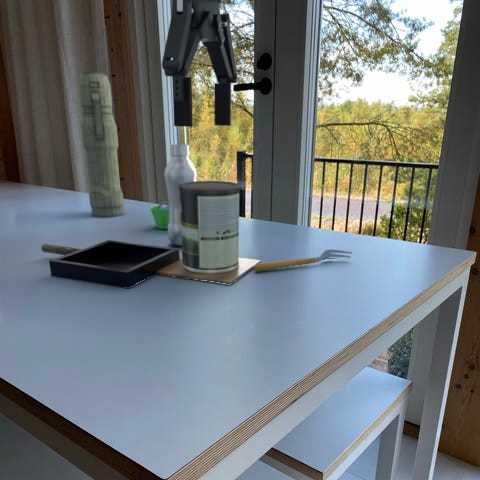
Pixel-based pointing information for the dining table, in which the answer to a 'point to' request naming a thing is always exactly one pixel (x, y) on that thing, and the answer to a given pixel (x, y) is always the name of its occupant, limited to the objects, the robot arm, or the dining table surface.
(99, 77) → the thermos
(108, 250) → the pan
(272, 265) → the fork
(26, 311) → the dining table surface
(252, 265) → the cardboard square
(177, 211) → the plastic bottle
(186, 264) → the coffee can
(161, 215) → the fruit basket
